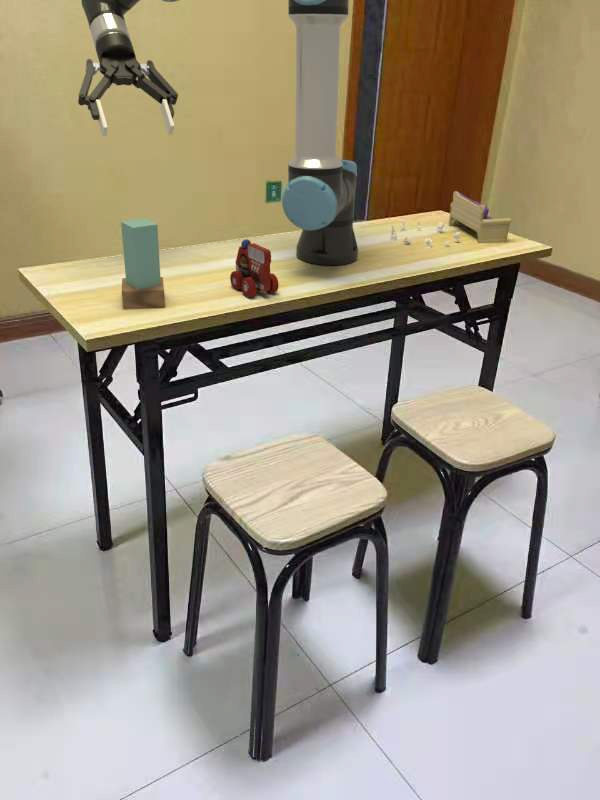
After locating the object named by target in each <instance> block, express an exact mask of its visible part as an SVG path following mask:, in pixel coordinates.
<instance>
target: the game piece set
mask: <svg viewBox="0 0 600 800" xmlns="http://www.w3.org/2000/svg"><path fill="white" fill-rule="evenodd" d="M401 223H402V226H401V228H398V231H399V232H401V233H402V232H403V233H405V232H407V230H408V228H406V227H405V224H406V220H405V219H403V220H401ZM417 224H418V226H416V227H417V231H419V232H420V231H422V227H421V225H420V220H417ZM390 227H391V228H392V229H391V235H390V240H391V241H397V239H398V238H397V233H395V231H396V230H395V225H394V224H391V225H390ZM444 227H445V224H444V223H443V221H440V222H439V223H438V224H437V228H436V231H437V233H438V234H442V230H443V228H444ZM450 237H451V238H453V239H454V240H455V242H456V243H460V240H461V232H460V231H457V232H455V233H454V234H453V235H451V236H450ZM402 242H404V243H405V245H406V246H407V245H408V244H410V243H411V239H409V238H408V236H406V235H405V237H404V239H403V241H402ZM425 243H426V245H425V246H424V248H426V249H427V248H428V249H429V248H430V249H431V243H432V238H429V237H427V238H426V239H425ZM444 247H447V248H448V247H450V242H449V240H447V241H446V242H445V243H444Z"/></svg>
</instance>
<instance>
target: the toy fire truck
mask: <svg viewBox="0 0 600 800" xmlns="http://www.w3.org/2000/svg"><path fill="white" fill-rule="evenodd" d="M240 243H241V244H240V246H239V247H238V251H237V255H236V259H235V270H234V271H231V273H230V285H231V286H232V288H233V290H235V291H240V290H241V291H242V295H244V296H245V297H246V298H253V297H255V296H256V293H257V292H266V293H267V294H275V293H277V291H278V289H279V287H280V286H279V280H278V277H277V275H276V274H275V273H273V272H271V263H272V252H271V250H270V249H268V248H266V247H263V246H261V245H259V244H257V243H254V242H251V240H249V239H243V240H241V242H240Z"/></svg>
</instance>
